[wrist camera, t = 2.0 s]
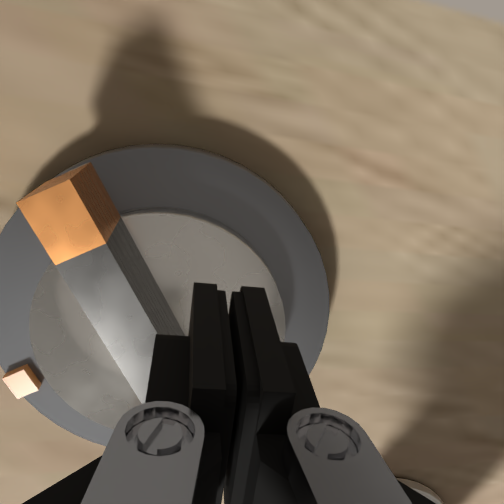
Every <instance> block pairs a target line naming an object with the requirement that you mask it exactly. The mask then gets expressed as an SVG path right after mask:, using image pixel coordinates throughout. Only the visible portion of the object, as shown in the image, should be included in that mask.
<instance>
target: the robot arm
mask: <svg viewBox="0 0 504 504" xmlns="http://www.w3.org/2000/svg"><path fill="white" fill-rule="evenodd" d="M223 488H224V504H444V503H443V502H442V500H441V499H440V497H439V496H438V495H437V494H436V493H435V492H433V491H432V490H431V489H430V488H428V487H426V486H424V485H422V484H420V483H418V482H414V481H411V480H407V479H400V478H395V476H394V475H393V473H392V472H391V470H390V469H389V467H388V466H387V464H386V463H385V461H384V460H383V458H382V457H381V455H380V453H379V452H378V450H377V449H376V447H375V446H374V444H373V443H372V441H371V440H370V438H369V437H368V435H367V434H366V432H365V431H364V430H363V429H362V427H361V426H360V425H359V424H358V423H357V422H355V421H354V420H353V419H351V418H350V417H348V416H346V415H344V414H342V413H340V412H338V411H335V410H331V409H327V408H320V406H319V403H318V400H317V398H316V395H315V392H314V389H313V386H312V384H311V381H310V378H309V375H308V372H307V370H306V367H305V364H304V361H303V358H302V355H301V353H300V350H299V347H298V345H297V343H293V342H281V341H280V338H279V335H278V331H277V328H276V324H275V321H274V318H273V314H272V311H271V308H270V304H269V301H268V298H267V294H266V291H265V288H261V287H249V286H241V288H240V292H236V291H232V293H231V299H230V307H229V314H228V307H227V299H226V291H223V290H217V284H210V283H198V282H194V285H193V294H192V303H191V313H190V323H189V333H188V336H179V335H163V334H156V336H155V342H154V349H153V355H152V362H151V368H150V375H149V381H148V387H147V394H146V400H145V403H143V404H141V405H138V406H136V407H133V408H132V409H130V410H129V411H127V412H126V413H125V414H123V416H122V417H121V418H120V420H119V421H118V423H117V424H116V427H115V429H114V431H113V433H112V435H111V438H110V440H109V442H108V444H107V446H106V449H105V451H104V453H103V455H102V456H101V457H99V458H97V459H96V460H94V461H92V462H91V463H89V464H87V465H86V466H84V467H82V468H81V469H79V470H77V471H76V472H74V473H72V474H71V475H69V476H67V477H66V478H64V479H62V480H61V481H59V482H57V483H56V484H54V485H52V486H51V487H49V488H47V489H46V490H44V491H42V492H41V493H39V494H37V495H36V496H34V497H32V498H31V499H29V500H27V501H26V502H24V503H22V504H221V501H222V494H223Z"/></svg>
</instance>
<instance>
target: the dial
mask: <svg viewBox="0 0 504 504" xmlns="http://www.w3.org/2000/svg"><path fill="white" fill-rule="evenodd" d="M16 204H17V205H18V207H19V208H20V210H21V212H22V213H23V215H24V216H25V218H26V220H27V221H28V223H29V224H30V226H31V228H32V229H33V231H34V232H35V234H36V236H37V237H38V239H39V240H40V242H41V244H42V245H43V247H44V248H45V250H46V252H47V253H48V255H49V256H50V258H51V260H52V262H51V264H50V265H49V266H48V267H47V269H46V271H45V272H44V274H43V276H42V277H41V279H40V281H39V283H38V285H37V288H36V291H35V293H34V296H33V300H32V304H31V309H30V319H29V331H30V341H31V345H32V349H33V353H34V357H35V359H36V361H37V364H38V366H39V368H40V370H41V372H42V374H43V375H44V377H45V379H46V380H47V382H48V383H49V385H50V386H51V387H52V388H53V390H54V391H55V392H56V393H57V395H58V396H60V397H61V398H62V399H63V400H64V401H65V402H66V403H67V404H68V405H69V406H70V407H72V408H73V409H75V410H76V411H77V412H79V413H80V414H81V415H83V416H85V417H87V418H88V419H90V420H92V421H94V422H96V423H98V424H101V425H103V426H105V427H107V428H110V429H115V427H116V424H117V423H118V421H119V420H120V418H121V417H122V416H123V414H125V413H126V412H127V411H129V410H130V409H132V408H133V407H136V406H138V405H141V404H143V403H145V400H146V394H147V387H148V381H149V375H150V368H151V362H152V355H153V349H154V342H155V336H156V334H163V335H179V336H188V333H189V323H190V313H191V303H192V294H193V285H194V282H198V283H210V284H217V290H223V291H226V299H227V307H228V314H229V307H230V299H231V293H232V291H236V292H240V288H241V286H249V287H261V288H265V291H266V294H267V298H268V301H269V304H270V308H271V311H272V314H273V318H274V321H275V324H276V328H277V331H278V335H279V338H280V341H281V342H284V340H285V331H286V328H285V313H284V308H283V303H282V299H281V296H280V294H279V291H278V288H277V285H276V282H275V279H274V277H273V275H272V273H271V271H270V269H269V267H268V265H267V263H266V262H265V261H264V259H263V258H262V256H261V255H260V254H259V252H258V251H257V250H256V249H255V248H254V247H253V246H252V245H251V244H250V243H249V242H248V240H246V239H245V238H244V237H243V236H241V235H240V234H239V233H238V232H236V231H235V230H234V229H232V228H230V227H229V226H227V225H225V224H224V223H222V222H220V221H218V220H215V219H213V218H211V217H209V216H206V215H203V214H200V213H197V212H193V211H190V210H184V209H178V208H172V207H147V208H137V209H132V210H128V211H123V212H119V213H118V211H117V209H116V207H115V205H114V203H113V202H112V200H111V198H110V196H109V194H108V192H107V191H106V189H105V187H104V185H103V183H102V181H101V179H100V178H99V176H98V174H97V172H96V170H95V168H94V167H93V165H92V163H91V162H90V163H87V164H85V165H83V166H80V167H78V168H76V169H74V170H71V171H69V172H67V173H64V174H62V175H60V176H58V177H55V178H53V179H51V180H49V181H46V182H45V183H43V184H42V185H40V186H39V187H38V188H36V189H35V190H33V191H32V192H31V193H29V194H28V195H26V196H25V197H24V198H22V199H21V200H19V201H18V202H17V203H16Z"/></svg>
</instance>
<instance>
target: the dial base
mask: <svg viewBox="0 0 504 504" xmlns="http://www.w3.org/2000/svg"><path fill="white" fill-rule="evenodd" d="M90 162H91V163H92V165H93V167H94V168H95V170H96V172H97V174H98V176H99V178H100V179H101V181H102V183H103V185H104V187H105V189H106V191H107V192H108V194H109V196H110V198H111V200H112V202H113V203H114V205H115V207H116V209H117V211H118V213H119V212H123V211H128V210H132V209H137V208H147V207H172V208H178V209H184V210H190V211H193V212H197V213H200V214H203V215H206V216H209V217H211V218H213V219H215V220H218V221H220V222H222V223H224V224H225V225H227V226H229V227H230V228H232V229H234V230H235V231H236V232H238V233H239V234H240V235H241V236H243V237H244V238H245V239H246V240H248V242H249V243H250V244H251V245H252V246H253V247H254V248H255V249H256V250H257V251H258V252H259V254H260V255H261V256H262V258H263V259H264V261H265V262H266V263H267V265H268V267H269V269H270V271H271V273H272V275H273V277H274V279H275V282H276V285H277V288H278V291H279V294H280V296H281V299H282V303H283V308H284V313H285V328H286V331H285V340H284V342H293V343H297V345H298V347H299V350H300V353H301V355H302V358H303V361H304V364H305V367H306V370H307V372H308V375H309V374H310V372H311V371H312V369H313V367H314V365H315V363H316V361H317V359H318V356H319V354H320V352H321V349H322V346H323V342H324V339H325V335H326V332H327V325H328V318H329V289H328V282H327V276H326V272H325V268H324V265H323V262H322V258H321V255H320V253H319V251H318V249H317V246H316V244H315V242H314V240H313V238H312V236H311V234H310V233H309V231H308V230H307V228H306V227H305V225H304V224H303V222H302V221H301V219H300V218H299V216H298V215H297V213H296V212H295V210H294V209H293V207H292V206H291V205H290V204H289V203H288V202H287V201H286V199H285V198H284V197H283V196H282V195H281V194H280V193H279V192H278V191H277V190H276V189H275V188H274V187H272V186H271V185H270V184H269V183H268V182H267V181H265V180H264V179H263V178H262V177H260V176H259V175H257V174H255V173H254V172H252V171H251V170H249V169H248V168H246V167H245V166H243V165H241V164H239V163H236V162H234V161H232V160H230V159H228V158H226V157H224V156H221V155H218V154H215V153H212V152H208V151H205V150H202V149H197V148H192V147H187V146H181V145H169V144H145V145H132V146H127V147H122V148H118V149H113V150H108V151H105V152H103V153H100V154H97V155H94V156H91V157H89V158H86V159H84V160H82V161H80V162H78V163H76V164H75V165H73V166H71V167H69V168H67V169H65V170H64V171H62V172H61V173H60V174H58V175H57V176H55V177H58V176H60V175H62V174H64V173H67V172H69V171H71V170H74V169H76V168H78V167H80V166H83V165H85V164H87V163H90ZM55 177H54V178H55ZM51 262H52V260H51V258H50V256H49V255H48V253H47V252H46V250H45V248H44V247H43V245H42V244H41V242H40V240H39V239H38V237H37V236H36V234H35V232H34V231H33V229H32V228H31V226H30V224H29V223H28V221H27V220H26V218H25V216H24V215H23V213H22V212H21V210H20V208H18V209H17V211H16V212H15V213H14V215H13V216H12V217H11V218H10V220H9V221H8V222H7V224H6V225H5V227H4V229H3V231H2V233H1V234H0V365H1V367H2V369H3V370H4V372H5V373H6V374H5V375H4V377H3V378H2V379H3V380H4V382H5V383H6V384H7V386H8V387H9V388H10V390H11V391H12V392H13V394H14V395H15V396H16V398H17V399H19V398H21V397H24V398H25V399H26V400H27V401H28V402H29V403H30V404H31V405H32V406H33V407H35V408H36V409H37V410H38V411H39V412H40V413H41V414H43V415H44V416H46V417H47V418H48V419H50V420H51V421H53V422H54V423H55V424H57V425H58V426H60V427H62V428H64V429H66V430H67V431H69V432H71V433H73V434H75V435H77V436H79V437H82V438H84V439H87V440H89V441H91V442H94V443H97V444H100V445H104V446H107V444H108V442H109V440H110V438H111V435H112V433H113V431H114V429H110V428H107V427H105V426H103V425H101V424H98V423H96V422H94V421H92V420H90V419H88V418H87V417H85V416H83V415H81V414H80V413H79V412H77V411H76V410H75V409H73V408H72V407H70V406H69V405H68V404H67V403H66V402H65V401H64V400H63V399H62V398H61V397H60V396H58V395H57V393H56V392H55V391H54V390H53V388H52V387H51V386H50V385H49V383H48V382H47V380H46V379H45V377H44V375H43V374H42V372H41V370H40V368H39V366H38V364H37V361H36V359H35V357H34V353H33V349H32V345H31V341H30V331H29V319H30V309H31V304H32V300H33V296H34V293H35V291H36V288H37V285H38V283H39V281H40V279H41V277H42V276H43V274H44V272H45V271H46V269H47V267H48V266H49V265H50V264H51Z"/></svg>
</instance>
